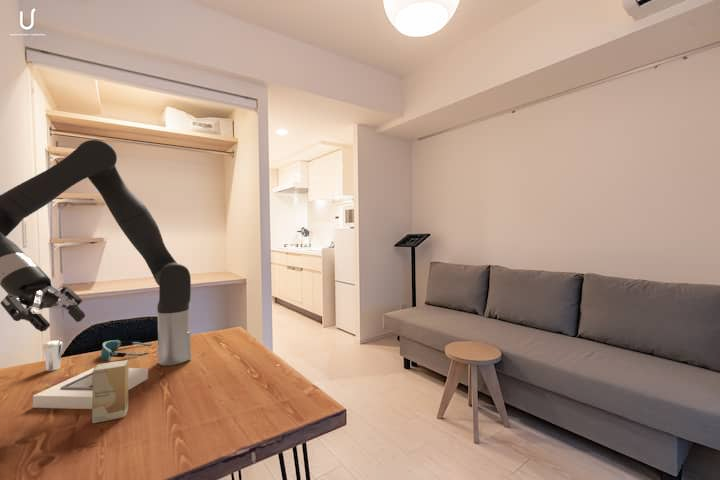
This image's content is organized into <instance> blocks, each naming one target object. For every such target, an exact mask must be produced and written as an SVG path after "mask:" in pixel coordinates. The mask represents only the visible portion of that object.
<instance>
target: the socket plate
mask: <svg viewBox="0 0 720 480" xmlns="http://www.w3.org/2000/svg"><path fill="white" fill-rule="evenodd" d="M94 368H95V367H93V368H90V369H88V370H86V371H83V372H82V373H79V374H77V375H75V376H73V377H71V378H68V379H65V380H64V381H62V382H60V383H57V384H56V385H52V386H51V387H48V388H47V389H44V390H42V391H40V392H38V393H36V394H34V395H32V407H33V408H35V409H37V408H39V409H40V408H41V409H70V410H72V409H75V410H76V409H77V410H79V409H81V410H92V399H93V370H94ZM148 379H149V369H148V368H147V367H144V368H141V367H139V368H138V367H129V374H128V391H129V390H131V389H134V387H136V386H139V384H141V383H143V382H145V381H146V380H148Z"/></svg>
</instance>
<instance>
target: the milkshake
mask: <svg viewBox="0 0 720 480" xmlns="http://www.w3.org/2000/svg"><path fill="white" fill-rule="evenodd" d="M42 349H43V356H44V361H45V369H46V372H53V371H58V370H60V369H61V361H62V359H61V358H62V350H63V341H62V338H60V339H58V340H50V341H48V342H45V343H43V344H42Z"/></svg>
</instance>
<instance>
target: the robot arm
mask: <svg viewBox="0 0 720 480" xmlns="http://www.w3.org/2000/svg"><path fill="white" fill-rule="evenodd" d="M117 158H118V156H117V152H116V150H115V149H114V147H113V146H111V145H110V144H109V143H107V142H105V141H103V140H98V139H90V140H85V141H83V142H82V143H80V144H79V145H78V146H77V148H76V149H74V150H73V151H71V153H69V155H67V156H66V157H64V158H63V159H62V160H60V161H59V162H58V163H56V164H54V165H52V166H51V167H49V168H48V169H46V170H44V171H42V172H40V173H38V174H37V175H35V176H33V177H30V178H29V179H28V180H26V181H23V182H22V183H19V184H18V185H16V186H14V187H12V188H10V189H9V190H7V191H5V192H3V193H1V194H0V287H1V288H2V289H3V290H4V291H5V292H6V293H7V295H6V296H5V297H4V298H3V299H2V301H0V305H1V306H2V308H4V311H6V313H7V314H8V315H9V316H10V317H11V318H12V320H13V321H15V322H19V321H21V320H24V321H26V322H29V323H30V324H31V325H32V326H33V328H35V330H37V331H38V332H39V331H40V332H46V331H47V330H48V328H49V327H50V326H51V323H50V322H49V321H48V320H47V319H46V317H44V316H43V315H42V314H41V313H39V311H41V310H43V309H50V308H53V309H57V310H60V309H61V310H64V311H67V313H68V314H69V316H71V317H72V318H73V320H74V321H75V322H77V323H78V322H79V323H80V322H82V320H83V319H85V317H86V314H85V313H84V311H83V310H82V309H81V308H80V304H82V302H83V299H82V298H81V297H80V296H79V295H78V294H77V293H76V292H74V290H73V289H71V287H70V286H68V285H64V286H63V287H61V288H55V287H54V286H52V280H51V278H50V277H49V276H48V275H47V274H46V273H45V272H44V270H42V269H41V267H39V266H38V264H37V263H36V262H35V261H34V260H33V259H32V258H30V257H29V256H27V254H25V252H24V251H23V250H22V249H21V248H20V247H19V246H18V245H17V244H16V243H15V242H14V241H12V240H11V239H9V238H8V235H9V234H10V233H11V232H13V230H14V229H15V228H17V227H18V225H20V223H21V222H22V221H23V220H24V219H25V218H26V217H27V218H28V217H29V216H30V215H33V214H34V213H35V212H37V211H39V210H40V209H42V208H43V207H45V206H46V205H48V204H50V203H51V202H52V201H53V200H55V199H57V198H58V197H59V196H60V195H61V194H63V193H65V192H66V191H67V190H69V189H70V188H71V187H73V186H75V185H76V184H78V183H79V182H81V181H83V180H86V179H88V180H89V182H90V183H92V185H93V186H94V187H95V188H96V190H97V191H98V193H99V194H100V196H101V197H102V200H103V201H104V204H106V207H107V208H108V210H109V212H110V213H111V215H112V217H113V218H114V220H115V222H116V224H117V225H118V227H120V229H121V231H122V232H123V233H124V235H125V236H126V238H127V239H128V241H130V243H131V244H132V246H133V247H134V248H135V249H136V250H137V252H138V253H139V254H140V255H141V257H142V258H143V260H144V261H145V263H146V265H147V266H148V269H149V270H150V272H151V274H152V276H153V279H154V280H155V283H156V284H157V285H158V286H159V287H158V288H159V294H158V295H159V300H158V303H157V347H158V348H157V353H158V355H157V356H158V365H160V366H163V367H164V366H165V367H166V366H175V365H179V364H182V363H185V362H188V361H191V360H192V352H191V351H192V350H191V348H192V347H191V344H192V341H191V331H190V311H189V310H190V309H189V307H190V302H191V290H192V289H191V288H192V287H191V282H192V281H191V280H192V279H191V274H190V273H191V272H190V271H189V269H188V267H186V266H184V265H183V264H181V263H178V262H177V261H176V260H175V259H174V257H173V256H172V254H171V253H170V252H169V250H168V249H167V246H166V245H165V243H164V240H163V237H162V234H161V230H160V229H159V226H158V224H157V222H156V221H155V219H154V217H153V215H152V214H151V212H150V211H149V209H148V207H147V206H146V205H145V204H144V203H143V202H142V200H141V199H139V197H138V196H137V195H136V194H135V193H134V192H133V191H132V190H131V189H130V188H129V187H128V185H127V184H126V183H125V182H124V180H123V178H122V177H121V174H120V173H119V171H118V168H117V167H116V164H117V162H118V161H117V160H118V159H117ZM59 300H61V301H60V302H59ZM58 302H59V303H58ZM67 304H68V305H67ZM23 305H24V306H23Z"/></svg>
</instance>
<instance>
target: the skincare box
mask: <svg viewBox="0 0 720 480" xmlns="http://www.w3.org/2000/svg"><path fill="white" fill-rule="evenodd" d="M129 362H130V361H129V359H126V360H119V361H116V360H115V361H110V362H105V363H104V362H103V363H98V364H97V365H95V367H93V368H94V370H93V385H92V387H93V399H92V409H91V411H92V413H91V415H92V416H91V417H92V418H91V419H92V420H91V421H92V422H91V423H92V424H97V423H101V422H102V423H103V422H106V421H107V422H108V421H113V420H115V419H116V420H117V419H121V418H122V419H123V418H125V417H126V415H127V413H128V410H129V390H128V374H129V368H130V366H129V365H130V364H129Z"/></svg>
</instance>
